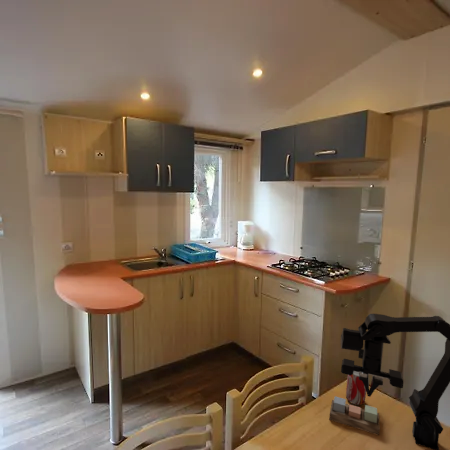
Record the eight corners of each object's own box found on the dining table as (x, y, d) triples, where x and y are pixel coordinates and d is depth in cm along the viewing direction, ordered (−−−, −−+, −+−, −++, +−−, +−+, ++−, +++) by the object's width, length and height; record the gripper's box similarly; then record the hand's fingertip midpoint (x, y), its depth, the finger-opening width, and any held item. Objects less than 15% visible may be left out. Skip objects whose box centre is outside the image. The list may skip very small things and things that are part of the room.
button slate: (345, 406, 116) (345, 399, 116) (344, 413, 113) (345, 405, 112) (334, 403, 118) (334, 396, 117) (333, 410, 114) (333, 402, 114)
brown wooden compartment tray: (378, 419, 114) (379, 413, 113) (379, 435, 106) (379, 428, 106) (331, 405, 120) (332, 399, 120) (329, 419, 113) (329, 413, 113)
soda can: (362, 409, 119) (365, 379, 117) (343, 401, 123) (345, 372, 122) (367, 399, 124) (369, 371, 123) (348, 392, 129) (350, 364, 127)
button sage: (376, 416, 112) (377, 408, 112) (376, 423, 108) (377, 415, 108) (364, 412, 113) (365, 404, 113) (364, 419, 110) (365, 411, 110)
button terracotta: (360, 415, 114) (360, 407, 114) (359, 422, 111) (360, 414, 110) (348, 411, 116) (349, 404, 115) (348, 418, 112) (348, 410, 112)
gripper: (402, 348, 110) (397, 390, 112) (345, 336, 117) (341, 376, 119) (405, 364, 100) (400, 410, 101) (342, 350, 107) (339, 392, 109)
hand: (368, 395), depth 108 cm, fingers closed
